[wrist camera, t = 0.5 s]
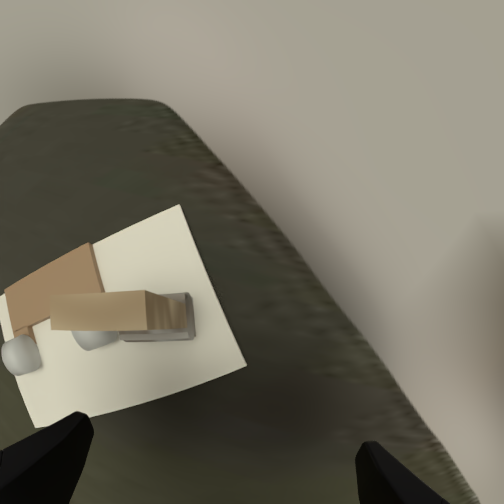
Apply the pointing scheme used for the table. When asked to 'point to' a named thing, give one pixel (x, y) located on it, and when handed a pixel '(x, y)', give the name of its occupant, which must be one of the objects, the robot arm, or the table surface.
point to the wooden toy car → (126, 314)
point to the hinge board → (133, 360)
